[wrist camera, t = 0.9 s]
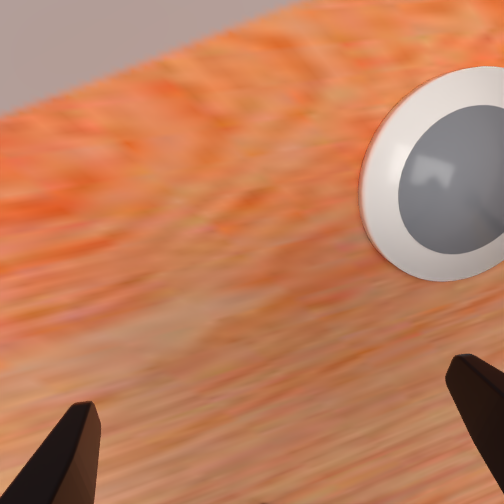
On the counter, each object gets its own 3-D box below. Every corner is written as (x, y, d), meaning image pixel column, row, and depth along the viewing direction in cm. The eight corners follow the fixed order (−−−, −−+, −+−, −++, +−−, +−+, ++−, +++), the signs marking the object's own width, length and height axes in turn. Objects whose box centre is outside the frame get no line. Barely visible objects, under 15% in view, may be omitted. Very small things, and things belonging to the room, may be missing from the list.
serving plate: (548, 235, 26) (566, 241, 25) (380, 301, 26) (390, 310, 24) (542, 37, 22) (564, 32, 20) (336, 113, 21) (346, 112, 20)
